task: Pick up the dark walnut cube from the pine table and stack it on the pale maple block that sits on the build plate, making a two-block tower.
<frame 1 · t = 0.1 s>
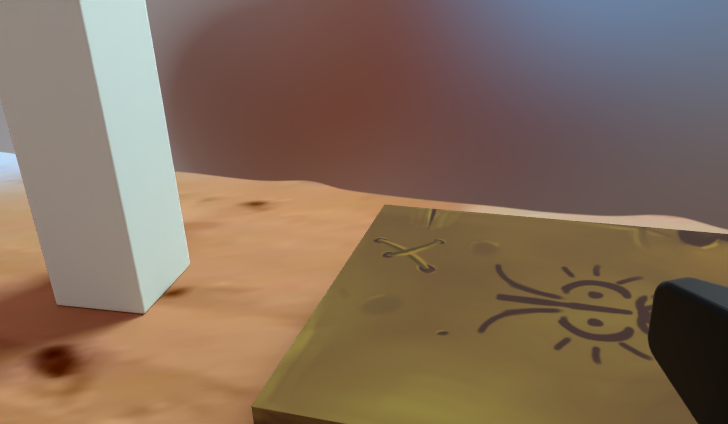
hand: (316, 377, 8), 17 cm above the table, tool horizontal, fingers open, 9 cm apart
diary: (576, 412, 32), on the table
milk: (127, 287, 43), on the table
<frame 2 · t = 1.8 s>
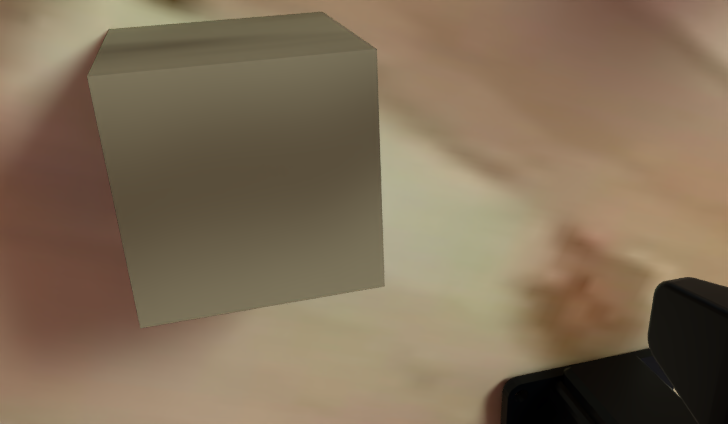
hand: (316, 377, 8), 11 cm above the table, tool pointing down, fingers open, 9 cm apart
walnut cube: (231, 120, 17), on the table
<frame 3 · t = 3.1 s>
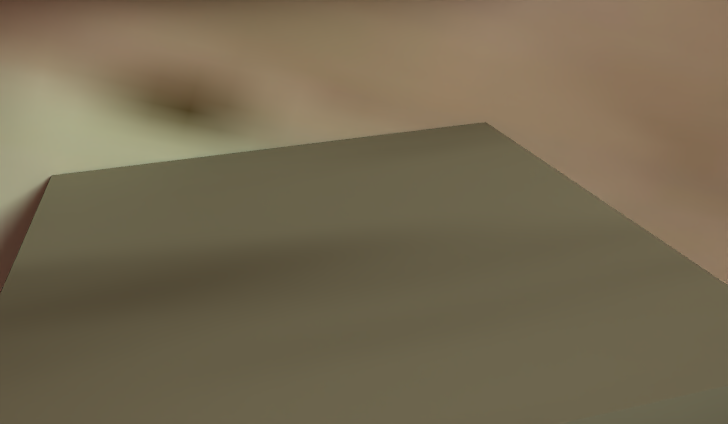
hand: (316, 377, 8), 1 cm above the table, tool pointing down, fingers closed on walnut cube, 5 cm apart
walnut cube: (300, 329, 9), on the table, touching gripper
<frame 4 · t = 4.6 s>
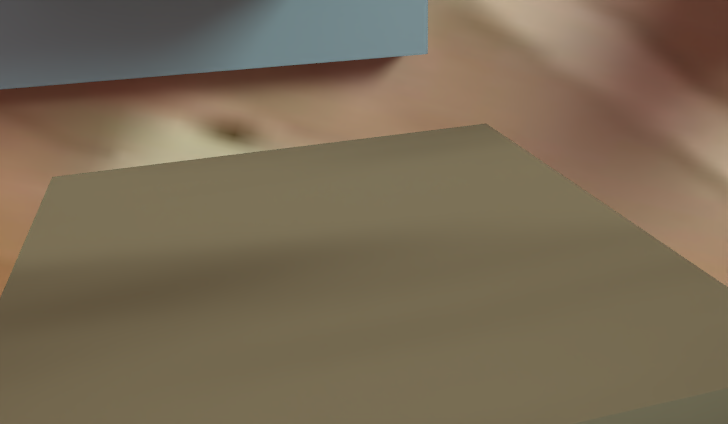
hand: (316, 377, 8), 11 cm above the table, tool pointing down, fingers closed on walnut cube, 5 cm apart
walnut cube: (301, 330, 9), point 10 cm above the table, touching gripper
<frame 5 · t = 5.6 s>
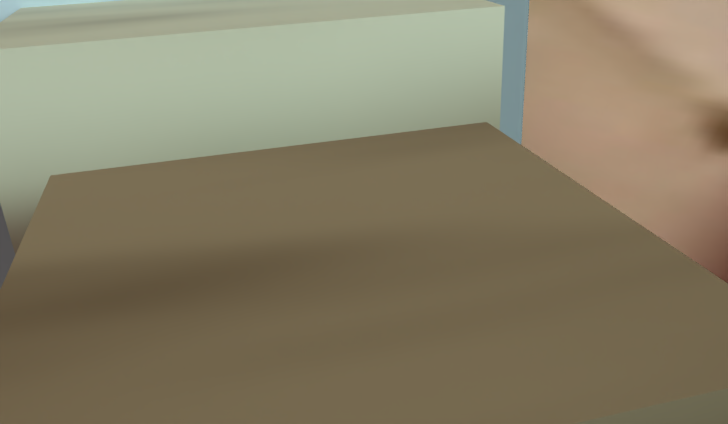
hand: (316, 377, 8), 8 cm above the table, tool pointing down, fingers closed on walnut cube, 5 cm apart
maple block: (250, 173, 14), point 1 cm above the table, touching build plate
walnut cube: (300, 330, 9), point 7 cm above the table, touching gripper
build plate: (244, 152, 15), on the table
when the fingers open (8 cm above the table, at t = 6.0 s): walnut cube drops 1 cm, resting on maple block.
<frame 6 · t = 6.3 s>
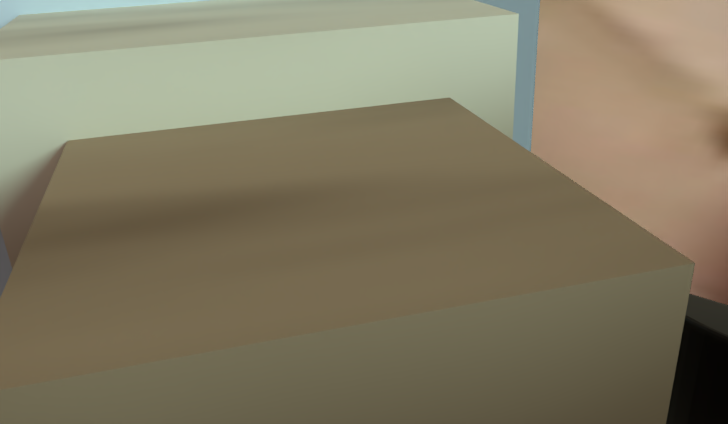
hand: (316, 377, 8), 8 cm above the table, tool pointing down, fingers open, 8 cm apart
maple block: (254, 182, 14), point 1 cm above the table, touching build plate, walnut cube
walnut cube: (286, 283, 10), point 5 cm above the table, touching maple block
build plate: (247, 161, 15), on the table
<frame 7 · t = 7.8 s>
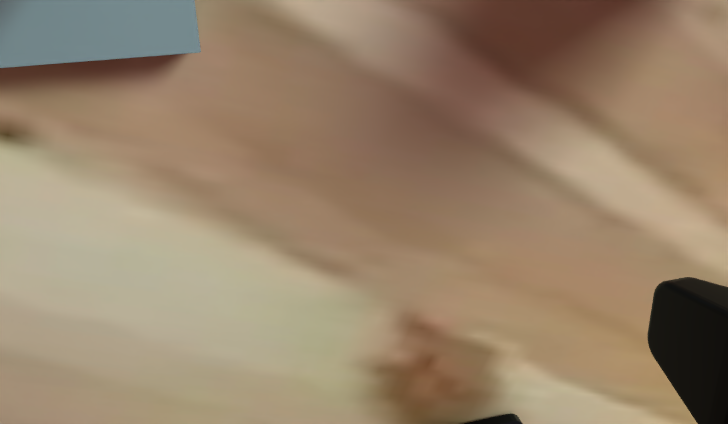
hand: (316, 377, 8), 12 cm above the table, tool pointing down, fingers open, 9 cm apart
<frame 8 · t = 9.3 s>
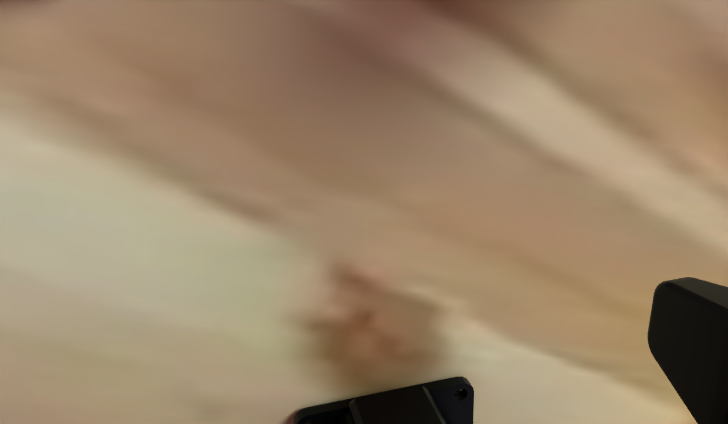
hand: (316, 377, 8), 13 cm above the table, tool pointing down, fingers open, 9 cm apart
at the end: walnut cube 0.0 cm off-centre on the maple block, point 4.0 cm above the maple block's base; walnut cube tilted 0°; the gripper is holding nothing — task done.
